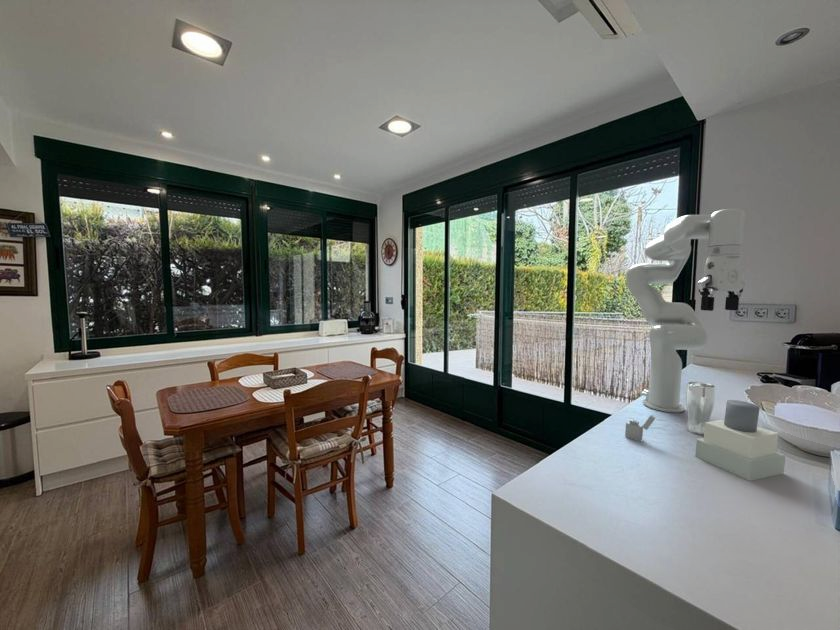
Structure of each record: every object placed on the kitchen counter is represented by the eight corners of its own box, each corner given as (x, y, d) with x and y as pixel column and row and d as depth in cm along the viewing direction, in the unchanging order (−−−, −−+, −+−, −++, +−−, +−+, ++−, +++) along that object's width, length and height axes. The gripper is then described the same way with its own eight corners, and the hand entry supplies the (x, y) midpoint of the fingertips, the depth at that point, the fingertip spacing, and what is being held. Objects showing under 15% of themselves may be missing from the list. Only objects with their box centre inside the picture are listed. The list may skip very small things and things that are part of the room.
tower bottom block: (695, 457, 91) (696, 439, 90) (727, 451, 94) (728, 434, 94) (749, 482, 79) (751, 461, 79) (783, 474, 82) (785, 454, 82)
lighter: (624, 436, 102) (626, 410, 101) (626, 435, 103) (628, 409, 103) (653, 444, 97) (654, 417, 96) (654, 442, 98) (656, 416, 98)
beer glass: (701, 427, 110) (705, 381, 108) (718, 436, 103) (722, 388, 102) (678, 426, 110) (681, 381, 109) (693, 435, 103) (697, 387, 102)
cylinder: (718, 423, 88) (721, 401, 87) (733, 421, 90) (736, 399, 89) (746, 433, 82) (750, 410, 81) (762, 430, 84) (765, 407, 83)
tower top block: (703, 440, 89) (705, 422, 89) (728, 435, 93) (729, 418, 92) (750, 459, 80) (752, 438, 79) (776, 452, 83) (778, 433, 83)
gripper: (715, 250, 95) (710, 311, 96) (760, 252, 99) (755, 310, 100) (688, 252, 102) (684, 309, 103) (731, 254, 106) (726, 309, 108)
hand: (719, 310), depth 102 cm, fingers open, 9 cm apart
